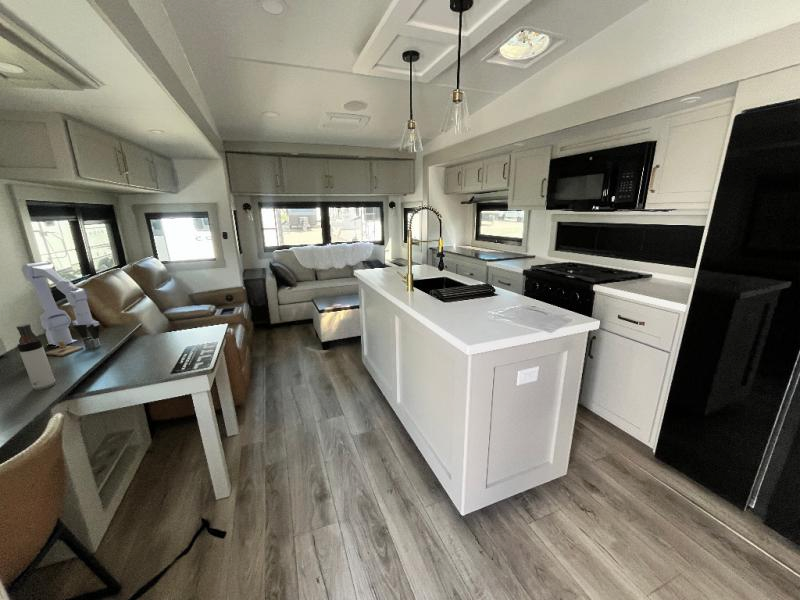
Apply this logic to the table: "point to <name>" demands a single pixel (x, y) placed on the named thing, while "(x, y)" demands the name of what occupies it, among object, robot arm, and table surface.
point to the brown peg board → (63, 349)
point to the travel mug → (36, 364)
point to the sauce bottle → (26, 333)
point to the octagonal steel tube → (91, 343)
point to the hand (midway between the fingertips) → (90, 337)
